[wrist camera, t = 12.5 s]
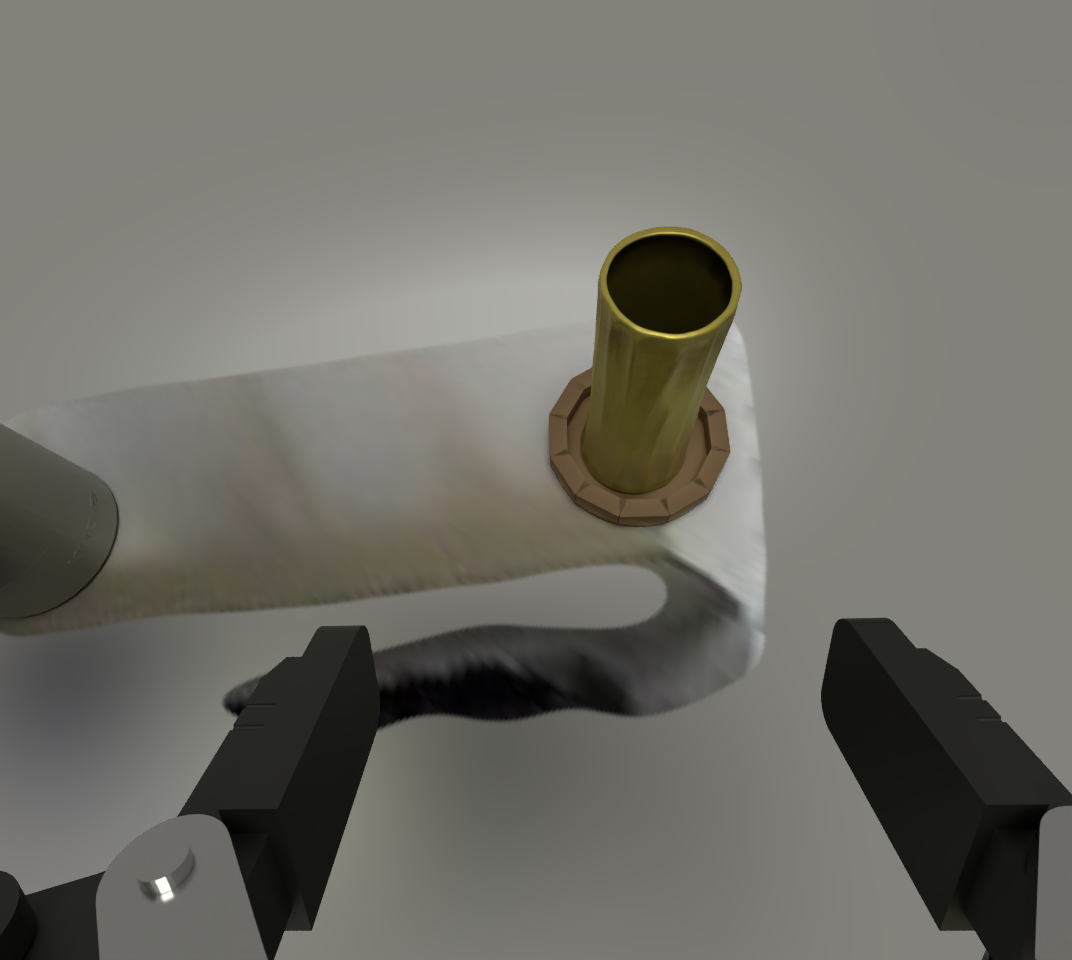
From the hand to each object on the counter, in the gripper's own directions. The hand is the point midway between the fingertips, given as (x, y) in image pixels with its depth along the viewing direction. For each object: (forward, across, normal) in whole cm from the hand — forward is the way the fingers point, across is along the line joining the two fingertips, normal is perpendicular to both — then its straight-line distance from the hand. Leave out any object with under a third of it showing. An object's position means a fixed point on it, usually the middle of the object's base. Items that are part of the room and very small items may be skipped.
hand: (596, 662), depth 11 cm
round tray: (+26, -4, +6) cm, 27 cm away
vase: (+25, -4, +6) cm, 26 cm away
